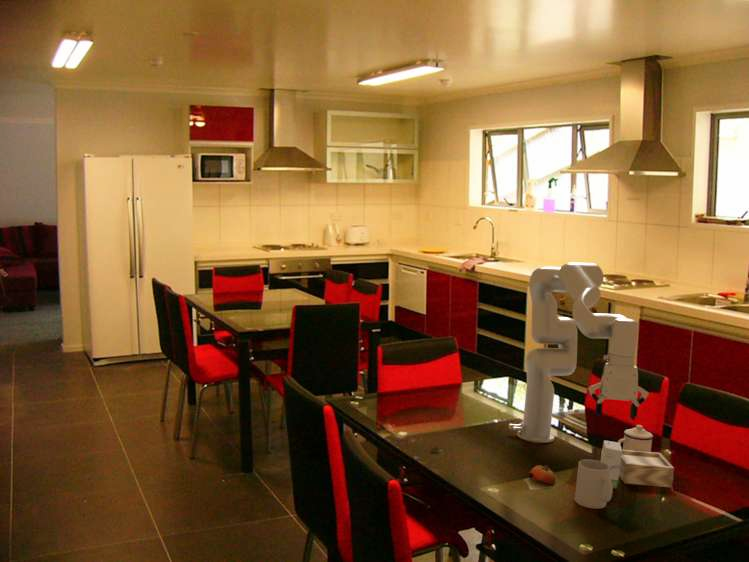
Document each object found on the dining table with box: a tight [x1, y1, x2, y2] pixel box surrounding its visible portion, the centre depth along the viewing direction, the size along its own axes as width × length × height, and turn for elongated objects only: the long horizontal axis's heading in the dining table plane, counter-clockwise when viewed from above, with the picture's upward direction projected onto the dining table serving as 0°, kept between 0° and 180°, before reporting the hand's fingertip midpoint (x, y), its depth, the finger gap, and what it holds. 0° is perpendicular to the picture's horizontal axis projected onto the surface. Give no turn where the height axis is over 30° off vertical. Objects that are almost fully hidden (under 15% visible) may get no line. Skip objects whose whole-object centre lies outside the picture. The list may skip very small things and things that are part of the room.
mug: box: [574, 459, 614, 510], centre depth 221 cm, size 12×8×11 cm
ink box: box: [600, 440, 623, 490], centre depth 240 cm, size 9×5×12 cm, turn 168°
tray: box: [619, 449, 675, 488], centre depth 247 cm, size 14×14×6 cm
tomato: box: [528, 464, 556, 486], centre depth 238 cm, size 8×7×7 cm
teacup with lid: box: [617, 424, 654, 452], centre depth 263 cm, size 12×9×12 cm
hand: (615, 417), depth 238 cm, fingers open, 9 cm apart
